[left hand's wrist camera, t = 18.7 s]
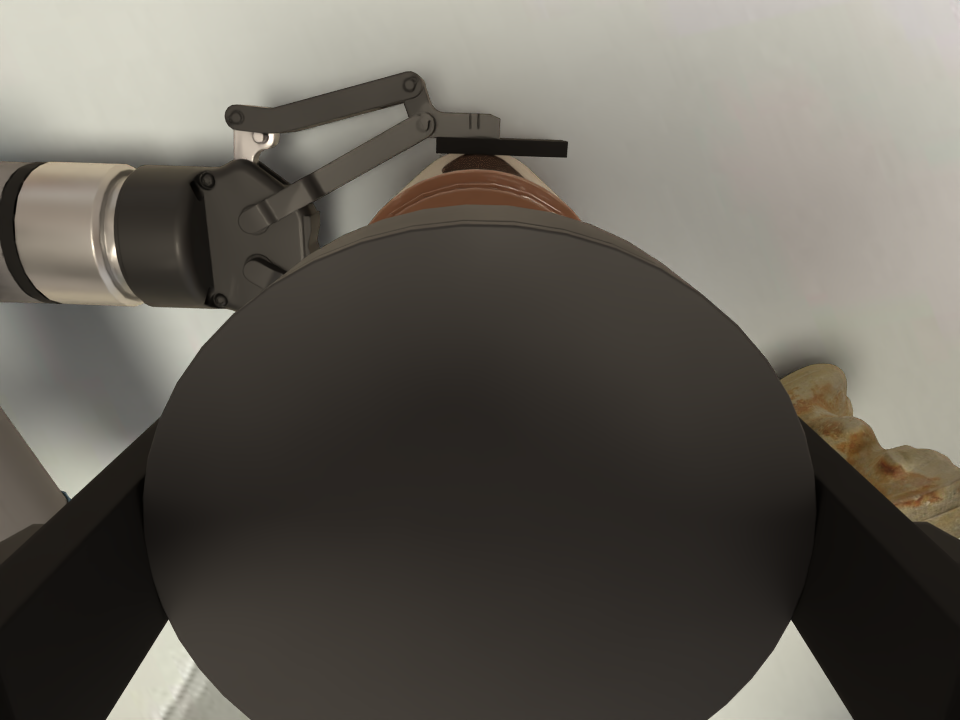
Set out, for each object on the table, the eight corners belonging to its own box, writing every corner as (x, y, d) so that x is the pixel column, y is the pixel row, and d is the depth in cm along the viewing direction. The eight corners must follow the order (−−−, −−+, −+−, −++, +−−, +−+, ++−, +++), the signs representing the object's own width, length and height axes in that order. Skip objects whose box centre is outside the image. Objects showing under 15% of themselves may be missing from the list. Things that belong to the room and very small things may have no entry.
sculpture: (843, 418, 45) (1007, 553, 31) (741, 450, 46) (856, 595, 32) (829, 344, 43) (997, 452, 29) (723, 379, 44) (837, 500, 30)
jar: (587, 229, 41) (677, 319, 22) (478, 334, 43) (477, 495, 25) (476, 112, 38) (474, 105, 20) (367, 230, 41) (275, 322, 22)
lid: (91, 501, 13) (13, 577, 10) (459, 56, 10) (453, 37, 8) (493, 768, 15) (495, 873, 13) (874, 472, 12) (955, 543, 10)
